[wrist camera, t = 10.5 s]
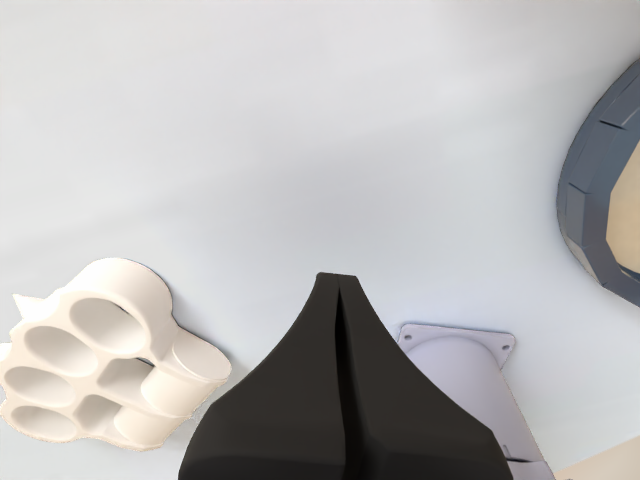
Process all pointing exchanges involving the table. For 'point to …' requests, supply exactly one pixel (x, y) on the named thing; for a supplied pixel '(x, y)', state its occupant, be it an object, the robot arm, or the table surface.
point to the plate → (606, 190)
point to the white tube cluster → (105, 361)
